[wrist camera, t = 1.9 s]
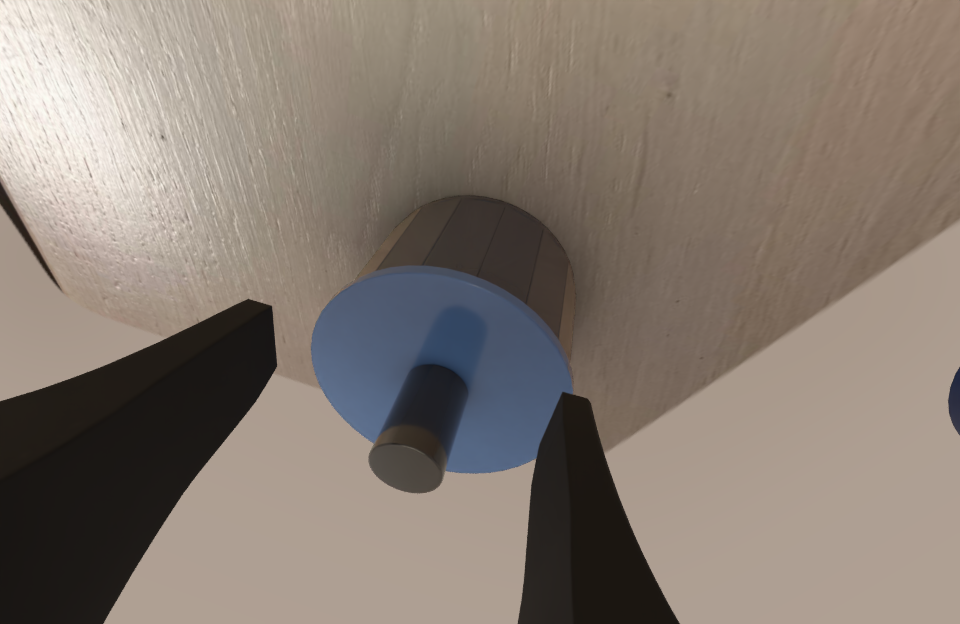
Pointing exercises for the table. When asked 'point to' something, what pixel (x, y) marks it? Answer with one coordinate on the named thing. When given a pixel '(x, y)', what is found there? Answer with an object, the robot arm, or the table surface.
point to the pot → (489, 254)
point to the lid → (438, 373)
